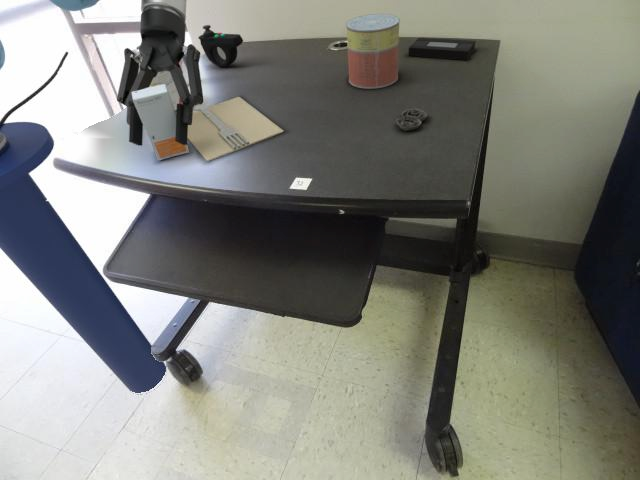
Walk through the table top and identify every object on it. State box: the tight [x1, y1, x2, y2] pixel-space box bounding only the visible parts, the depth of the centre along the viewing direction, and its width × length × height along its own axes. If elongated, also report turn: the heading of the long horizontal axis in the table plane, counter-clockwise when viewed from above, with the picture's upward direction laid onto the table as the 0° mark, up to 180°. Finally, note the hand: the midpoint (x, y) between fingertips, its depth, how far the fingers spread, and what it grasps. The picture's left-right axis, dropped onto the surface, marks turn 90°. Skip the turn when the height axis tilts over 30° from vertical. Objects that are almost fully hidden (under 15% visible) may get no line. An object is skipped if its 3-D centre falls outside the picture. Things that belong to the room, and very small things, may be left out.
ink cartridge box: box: [136, 45, 189, 111], centre depth 87 cm, size 9×5×15 cm, turn 143°
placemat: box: [187, 96, 285, 162], centre depth 82 cm, size 22×16×1 cm
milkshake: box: [179, 44, 189, 86], centre depth 99 cm, size 4×5×10 cm
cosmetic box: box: [131, 84, 190, 161], centre depth 72 cm, size 6×4×12 cm
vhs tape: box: [408, 37, 476, 61], centre depth 99 cm, size 8×14×2 cm, turn 61°
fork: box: [199, 106, 249, 150], centre depth 81 cm, size 21×3×1 cm, turn 32°
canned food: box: [345, 13, 401, 90], centre depth 88 cm, size 11×11×12 cm
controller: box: [197, 24, 244, 68], centre depth 105 cm, size 4×12×10 cm, turn 66°
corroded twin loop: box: [395, 107, 428, 132], centre depth 75 cm, size 5×8×1 cm, turn 151°
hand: (158, 143), depth 72 cm, fingers open, 8 cm apart
